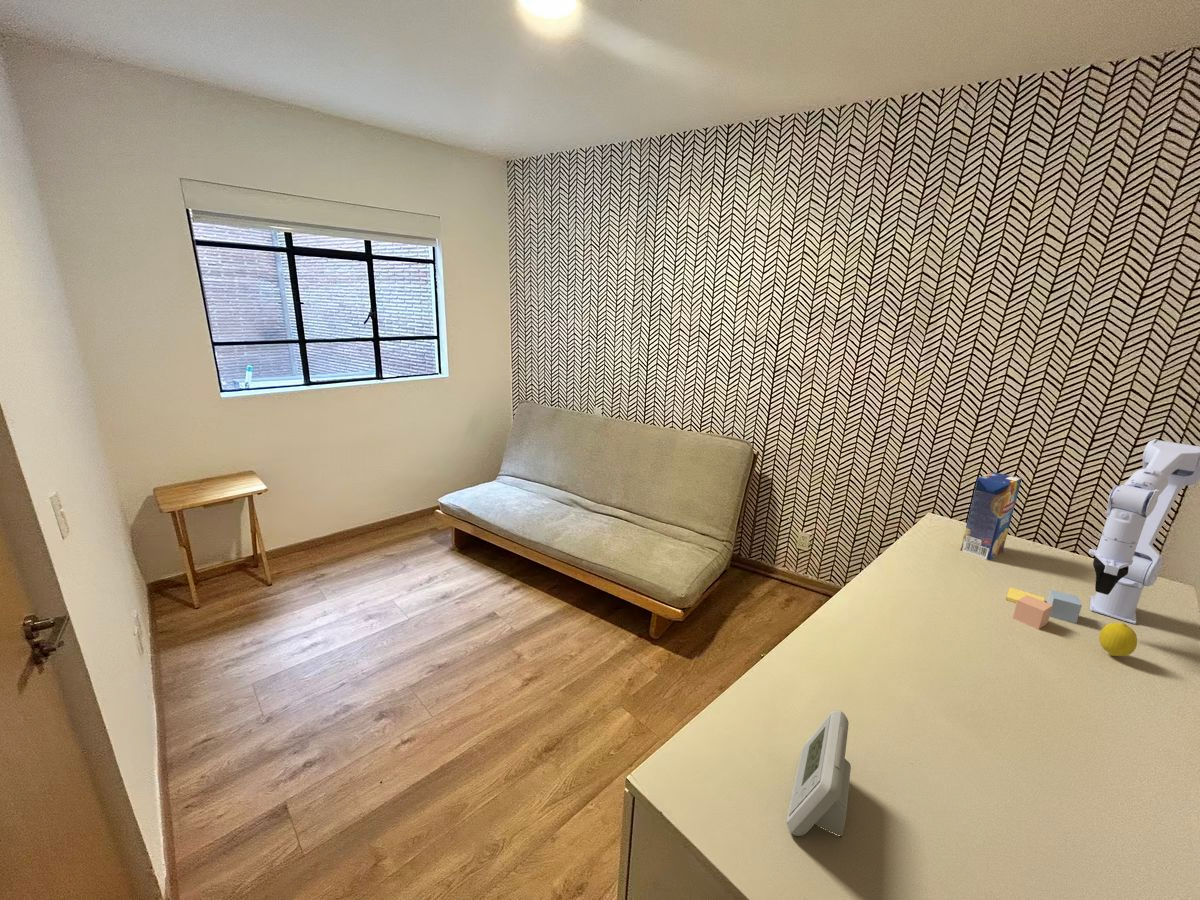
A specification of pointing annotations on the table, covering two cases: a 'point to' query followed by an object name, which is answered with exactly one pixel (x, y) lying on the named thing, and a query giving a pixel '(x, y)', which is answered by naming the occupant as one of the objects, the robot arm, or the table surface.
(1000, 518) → the juice carton
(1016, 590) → the tile
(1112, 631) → the lemon
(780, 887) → the table surface
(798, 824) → the digital clock
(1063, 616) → the slate block
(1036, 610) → the terracotta block
